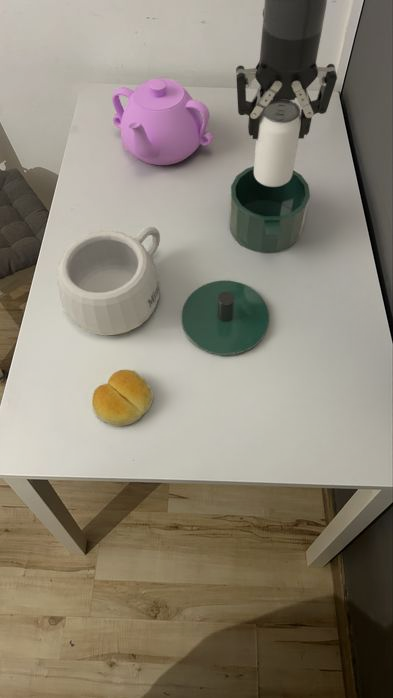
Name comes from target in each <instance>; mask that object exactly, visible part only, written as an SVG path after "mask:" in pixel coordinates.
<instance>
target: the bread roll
mask: <svg viewBox="0 0 393 698" xmlns="http://www.w3.org/2000/svg"><path fill="white" fill-rule="evenodd" d="M91 400H92V401H91V402H92V407H93V411H94V413H95V415H96V417H97V418H98V419H99V420H100V421H102V422H103V423H105V424H108V425H110V426H115V427H124V426H129V425H131V424H133V423H135V422H137V421H139V420H140V419H141V418H142V416H144V414H145V413H147V412H148V410H149V409H150V407H151V405H152V403H153V400H154V394H153V390H152V388H151V387H150V386H149V384H148V382H147V381H146V380H145V379H144V378H143V377H142V376H141V375H140V374H139V373H138V372H137V371H136V370H131V369H120V370H117V371H115V372H114V373H112V374H111V376H110V377H109V378H108V381H107V383H104V384H103V383H102V384H100V385H99V386H97V387H96V388H95V390H94V392H93V394H92V399H91Z"/></svg>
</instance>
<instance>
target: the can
mask: <svg viewBox="0 0 393 698" xmlns="http://www.w3.org/2000/svg"><path fill="white" fill-rule="evenodd" d="M300 115H301V107H300V105H299V104H297V102H295V101H294V100H287V99H281V100H273V99H272V100H271V101H270V103H269V104H268V105H267V107H266V108H264V109H263V110H262V112H261V113H260V115H259V127H258V138H257V139H255V148H254V151H255V152H254V160H253V161H254V162H253V166H254V177H255V178H256V180H257V181H258V182H259V183H261V184H262V185H264V186H267V187H279V186H282V185H284V184H286V183H287V182H289V181H290V179H291V177H292V173H293V170H294V167H295V163H296V162H295V161H296V157H297V156H296V155H297V150H298V144H299V140H300V139H299V133H300V127H301V116H300Z"/></svg>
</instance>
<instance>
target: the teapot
mask: <svg viewBox="0 0 393 698" xmlns="http://www.w3.org/2000/svg"><path fill="white" fill-rule="evenodd" d="M120 96H123V97H125V98H127V99H128V100H127V102H126V105H125V107H123V105H122V102H121V98H120ZM111 100H112V106H113V107H114V110H115V112H116V113H115V114H114V115H113V117H112V122H113V124H114V126H116V128H118V129H120V136H121V142H122V144H123V146H124V148H125V149H126V150H127V152H128V153H130V154H131V155H132V156H133V157H135V158H136V159H138V160H140V161H142V162H144V163H146V164H149V165H155V166H168V165H174V164H178V163H180V162H182V161H184V160H186V159H187V158H188V157H190V156H191V155H192V154H193V153H194V152H195V151H196V150H197V149H198V148H199V147H200V145H201V146H202V147H208V146H211V145H212V143H213V142H214V136H213V134H212V133H211V132H209V131H207V128H208V125H209V121H210V110H209V108H208V106H207V105H206V104H205V103H203V102H202V101H200V100H197V99H193V97H192V96H191V94H190V93H189V92H188V90H186V88H185V87H184V86H183V85H182V84H181V83H179V82H178V81H175V80H173V79H169V78H152V79H148V80H146V81H144V82H142V83H140V84H139V85H138V86H137V87H135V89H134V90H133V89H131V88H129V87H125V86H121V87H118V88H116V89H115V90H114V92H113V93H112V96H111Z"/></svg>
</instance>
